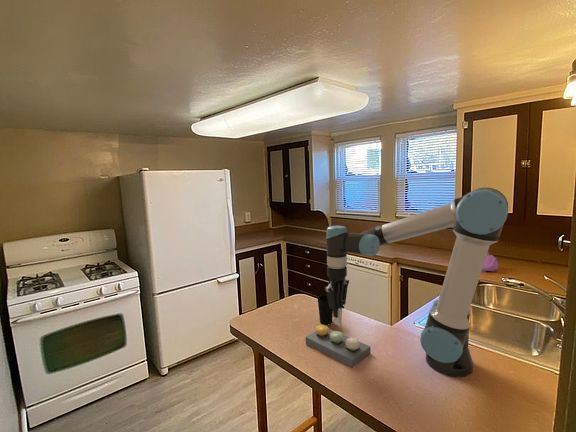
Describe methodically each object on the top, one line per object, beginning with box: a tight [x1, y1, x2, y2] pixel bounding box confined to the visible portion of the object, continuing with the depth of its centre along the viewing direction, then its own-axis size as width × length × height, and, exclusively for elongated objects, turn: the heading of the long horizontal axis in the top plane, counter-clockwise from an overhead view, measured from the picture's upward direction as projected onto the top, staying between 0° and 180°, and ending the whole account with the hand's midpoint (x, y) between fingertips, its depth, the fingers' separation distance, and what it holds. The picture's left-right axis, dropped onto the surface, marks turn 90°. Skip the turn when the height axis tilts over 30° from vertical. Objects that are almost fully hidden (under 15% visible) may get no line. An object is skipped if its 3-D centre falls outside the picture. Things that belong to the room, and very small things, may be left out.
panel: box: [305, 328, 372, 368], centre depth 123 cm, size 23×12×3 cm, turn 44°
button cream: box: [346, 337, 361, 353], centre depth 117 cm, size 5×5×4 cm
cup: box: [317, 294, 334, 326], centre depth 144 cm, size 8×8×12 cm
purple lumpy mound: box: [481, 252, 499, 273], centre depth 210 cm, size 20×14×12 cm
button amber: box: [315, 324, 330, 338], centre depth 128 cm, size 5×5×4 cm
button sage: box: [330, 330, 344, 345], centre depth 122 cm, size 5×5×4 cm
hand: (337, 323), depth 122 cm, fingers closed
